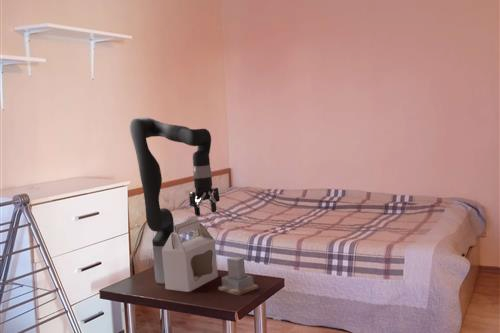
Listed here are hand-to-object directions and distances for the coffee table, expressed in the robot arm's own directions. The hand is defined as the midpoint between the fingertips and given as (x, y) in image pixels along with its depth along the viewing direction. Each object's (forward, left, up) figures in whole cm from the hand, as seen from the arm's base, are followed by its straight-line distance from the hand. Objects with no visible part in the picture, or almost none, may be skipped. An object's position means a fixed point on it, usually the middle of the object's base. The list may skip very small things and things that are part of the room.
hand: (205, 214), depth 219 cm
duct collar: (+11, +5, -31) cm, 33 cm away
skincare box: (+11, +5, -31) cm, 33 cm away
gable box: (-13, -1, -32) cm, 35 cm away
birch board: (+11, +5, -32) cm, 34 cm away
